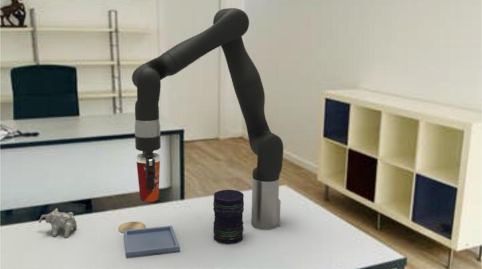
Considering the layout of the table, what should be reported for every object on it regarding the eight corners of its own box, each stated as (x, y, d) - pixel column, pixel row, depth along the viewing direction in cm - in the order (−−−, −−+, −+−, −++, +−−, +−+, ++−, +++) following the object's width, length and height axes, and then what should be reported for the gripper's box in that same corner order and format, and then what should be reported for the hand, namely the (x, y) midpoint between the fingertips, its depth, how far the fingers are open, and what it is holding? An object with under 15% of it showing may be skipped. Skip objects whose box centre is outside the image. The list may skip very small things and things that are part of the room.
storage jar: (249, 239, 156) (250, 196, 153) (224, 247, 151) (225, 202, 147) (231, 228, 164) (231, 187, 161) (207, 236, 158) (207, 193, 155)
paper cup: (156, 204, 144) (155, 159, 141) (132, 202, 146) (131, 157, 143) (165, 195, 152) (164, 152, 149) (142, 193, 153) (141, 151, 150)
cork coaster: (144, 221, 168) (144, 220, 168) (146, 232, 160) (146, 231, 160) (117, 224, 166) (117, 223, 166) (118, 235, 158) (118, 233, 157)
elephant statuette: (75, 238, 156) (75, 216, 154) (35, 240, 153) (35, 217, 151) (77, 227, 164) (77, 206, 163) (40, 228, 161) (39, 207, 160)
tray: (172, 230, 162) (172, 225, 162) (179, 251, 147) (179, 246, 147) (123, 235, 158) (123, 230, 157) (126, 258, 143) (126, 252, 142)
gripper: (163, 138, 138) (164, 192, 142) (157, 127, 152) (158, 177, 156) (136, 139, 136) (138, 194, 140) (133, 128, 150) (135, 179, 154)
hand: (149, 185), depth 148 cm, fingers closed on paper cup, 6 cm apart
